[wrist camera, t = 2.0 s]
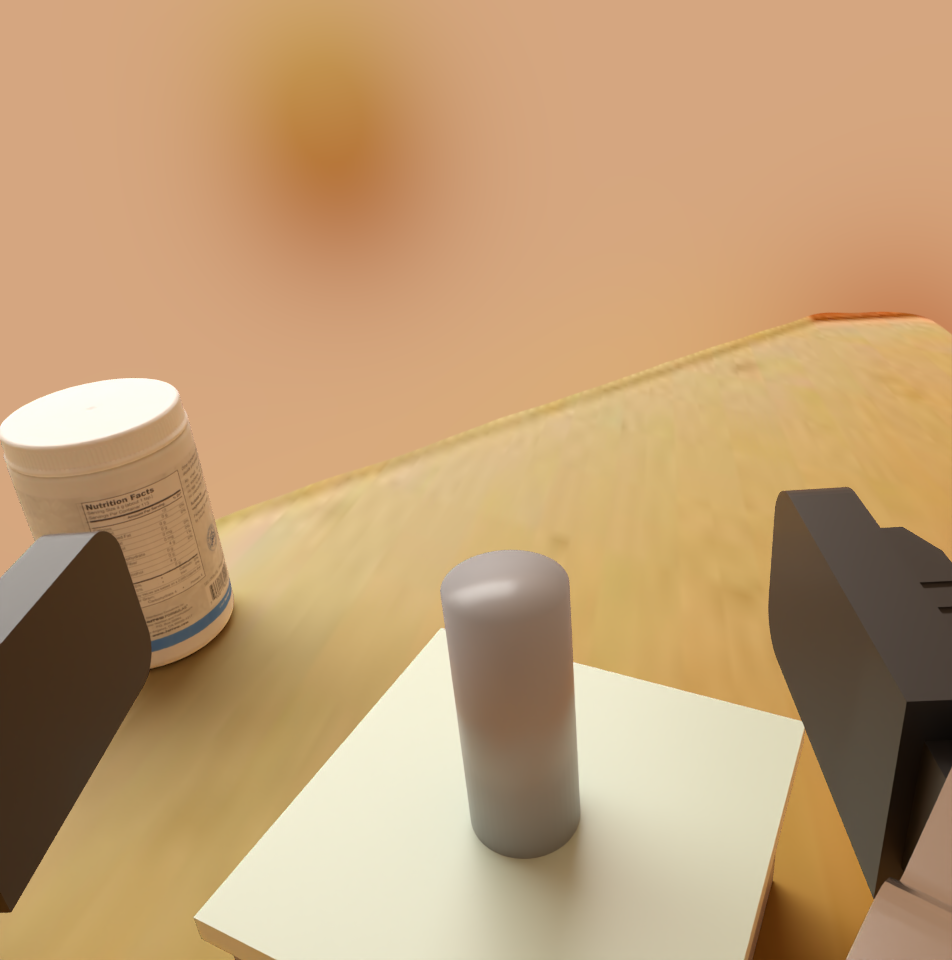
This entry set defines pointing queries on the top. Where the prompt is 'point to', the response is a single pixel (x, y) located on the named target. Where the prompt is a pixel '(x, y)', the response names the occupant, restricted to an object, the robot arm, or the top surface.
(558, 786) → the lid
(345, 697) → the top surface
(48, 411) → the supplement tub
